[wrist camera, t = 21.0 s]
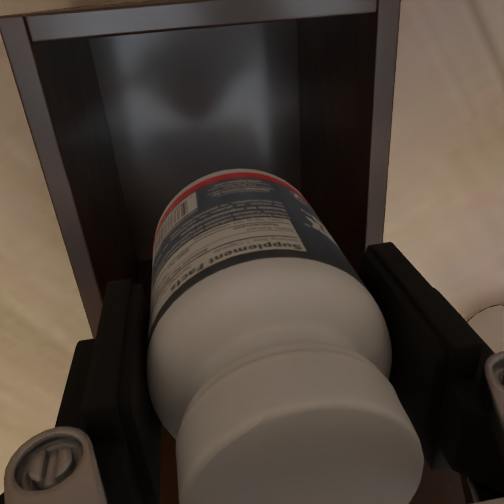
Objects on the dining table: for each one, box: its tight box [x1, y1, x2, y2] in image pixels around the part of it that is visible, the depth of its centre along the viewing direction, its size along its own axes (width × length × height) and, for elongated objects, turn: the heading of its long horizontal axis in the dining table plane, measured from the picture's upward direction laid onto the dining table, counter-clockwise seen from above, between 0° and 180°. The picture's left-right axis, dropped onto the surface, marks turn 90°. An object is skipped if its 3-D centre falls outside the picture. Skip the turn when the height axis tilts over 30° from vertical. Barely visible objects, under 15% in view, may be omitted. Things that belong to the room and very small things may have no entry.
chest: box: [0, 0, 401, 339], centre depth 23 cm, size 16×13×12 cm
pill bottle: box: [146, 169, 424, 504], centre depth 11 cm, size 5×5×9 cm
